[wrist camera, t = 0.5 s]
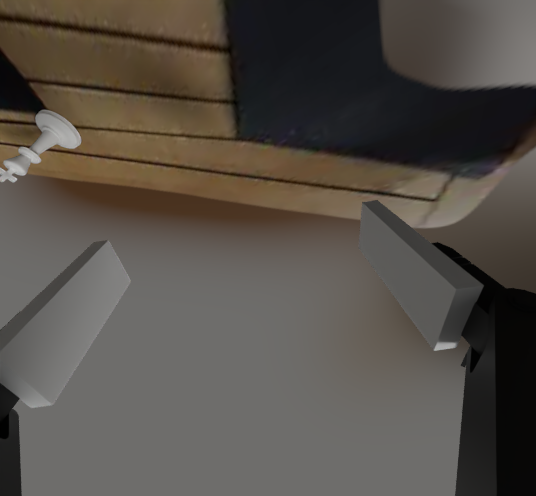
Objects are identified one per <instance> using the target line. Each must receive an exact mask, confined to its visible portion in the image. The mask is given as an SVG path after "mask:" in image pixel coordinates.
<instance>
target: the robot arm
mask: <svg viewBox="0 0 536 496" xmlns="http://www.w3.org/2000/svg"><path fill="white" fill-rule="evenodd" d="M359 249H360V250H361V252H362V253H363V254H364V256H365V257H366V258H367V260H368V261H369V263H370V264H371V265H372V267H373V268H374V270H375V271H376V272H377V274H378V275H379V276H380V278H381V279H382V281H383V282H384V283H385V285H386V286H387V287H388V289H389V290H390V291H391V293H392V294H393V296H394V297H395V298H396V300H397V301H398V302H399V303H400V305H401V306H402V308H403V309H404V310H405V312H406V313H407V315H408V316H409V317H410V319H411V320H412V321H413V323H414V324H415V325H416V327H417V328H418V330H419V331H420V332H421V334H422V335H423V336H424V338H425V339H426V340H427V342H428V343H429V345H430V346H431V347H432V349H433V350H434V351H435V350H442V349H448V348H456V347H457V345H458V343H459V340H460V338H461V336H463V337H464V338H465V339H466V341H467V342H468V343H469V344H470V347H469V349H468V352H467V353H466V355H465V357H464V360H463V362H462V364H461V366H463V367H465V366H466V375H465V386H464V398H463V410H462V422H461V434H460V445H459V457H458V469H457V481H456V494H455V496H536V294H535V293H532V292H529V291H526V290H521V289H515V288H508V289H507V288H505V287H503V286H502V285H501V284H499V283H498V282H497V281H495V280H494V279H493V278H491V277H490V276H488V275H487V274H486V273H484V272H483V271H482V270H480V269H479V268H478V267H476V266H475V265H474V264H471V262H470V261H468V260H467V259H466V258H463V257H462V255H460V254H459V253H458V252H456V251H455V250H454V249H452V248H450V247H448V246H445V245H443V244H441V243H438V242H437V243H430V242H429V241H428V240H426V239H425V238H424V237H423V236H421V235H420V234H419V233H417V232H416V231H415V230H414V229H413V228H411V227H410V226H409V225H408V224H406V223H405V222H404V221H403V220H401V219H400V218H399V217H398V216H396V215H395V214H394V213H393V212H391V211H390V210H389V209H388V208H386V207H385V206H384V205H383V204H381V203H380V202H379V201H378V200H375V201H368V202H362V212H361V225H360V237H359ZM130 282H131V280H130V278H129V276H128V275H127V273H126V271H125V269H124V267H123V266H122V264H121V262H120V260H119V258H118V256H117V255H116V253H115V251H114V249H113V248H112V246H111V244H110V242H109V240H106V241H99V242H94V243H93V244H91V245H90V247H88V248H87V249H86V250H85V251H84V252H83V253H82V254H81V255H80V256H79V257H78V258H77V259H76V260H75V261H74V262H72V263H71V264H70V266H68V267H67V268H66V269H65V270H64V271H63V272H62V273H61V274H60V275H59V276H58V277H57V278H56V279H54V280H53V281H52V282H51V283H50V284H49V285H48V286H47V287H46V288H45V289H44V290H43V291H42V292H41V293H40V294H39V295H37V297H35V298H34V299H33V300H32V301H31V302H30V303H29V304H28V305H27V306H26V307H25V308H24V309H23V310H22V311H21V312H19V313H18V314H17V315H16V316H15V317H14V318H13V319H12V320H11V321H10V322H8V324H7V325H6V326H4V327H3V328H2V329H1V330H0V496H22V495H21V469H20V444H19V443H20V442H19V416H18V414H17V412H16V411H15V410H14V409H12V408H13V407H14V405H15V404H16V403H17V401H18V400H19V399H20V400H21V401H23V402H24V403H25V404H27V405H28V406H29V407H30V408H35V407H42V406H49V405H53V404H54V403H55V401H56V399H57V398H58V396H59V395H60V393H61V392H62V390H63V388H64V386H65V385H66V384H67V382H68V380H69V379H70V377H71V376H72V374H73V373H74V371H75V369H76V368H77V366H78V365H79V363H80V361H81V360H82V358H83V357H84V355H85V354H86V352H87V350H88V349H89V347H90V346H91V344H92V343H93V341H94V339H95V338H96V336H97V335H98V333H99V331H100V330H101V328H102V327H103V325H104V323H105V322H106V320H107V319H108V317H109V316H110V314H111V312H112V311H113V309H114V308H115V306H116V304H117V303H118V301H119V300H120V298H121V297H122V295H123V294H124V292H125V290H126V289H127V287H128V285H129V284H130Z"/></svg>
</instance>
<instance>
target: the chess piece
mask: <svg viewBox="0 0 536 496" xmlns="http://www.w3.org/2000/svg"><path fill="white" fill-rule="evenodd" d="M35 120H36V124H37V126H38V127H39V129H40V130H41V131H42V134H41V135H40V137H39V138H38V139H37V140H36V141H35V143H34V144H33V145H32V146H31V147H30V148H29V149H28V148H26V147H19V149H18V151H19V153H20V155H19V156H16V157H14V158H10V159H7V160H5V161H4V165H5V167H6V168H7V169H9V170H8V171H5V170H3V169H2V168H0V174H1V175H2V176H0V181H1V182H3V181H5V180H6V179H8V180H10V181H11V182H15V181H16V180H17V178H15V177H14V176H12V174H13V173H15V174H17V175H22V176H23V175H26V173H27V171H28V168H29V166H30V163H31V162H32V163H36V164H37V163H40V162H41V159H40V157H39V156H38V155H39V154H41V153H42V152H44V151H46V150H47V149H49V148H50V147H52V146H54V145H56V144H58V145H60V146H62V147H65V148H69V149H73V148H76V147H77V146H79V145H80V144H81V137H80V134H79V133H78V131H77V130H76V128H75V127H74V126H73V125H72V124H71V123H70V122H69V121H68V120H66V119H65V118H64V117H62V116H61V115H59V114H57V113H55V112H53V111H50V110H41V111H39V112H38V114H37V115H36V117H35Z"/></svg>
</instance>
